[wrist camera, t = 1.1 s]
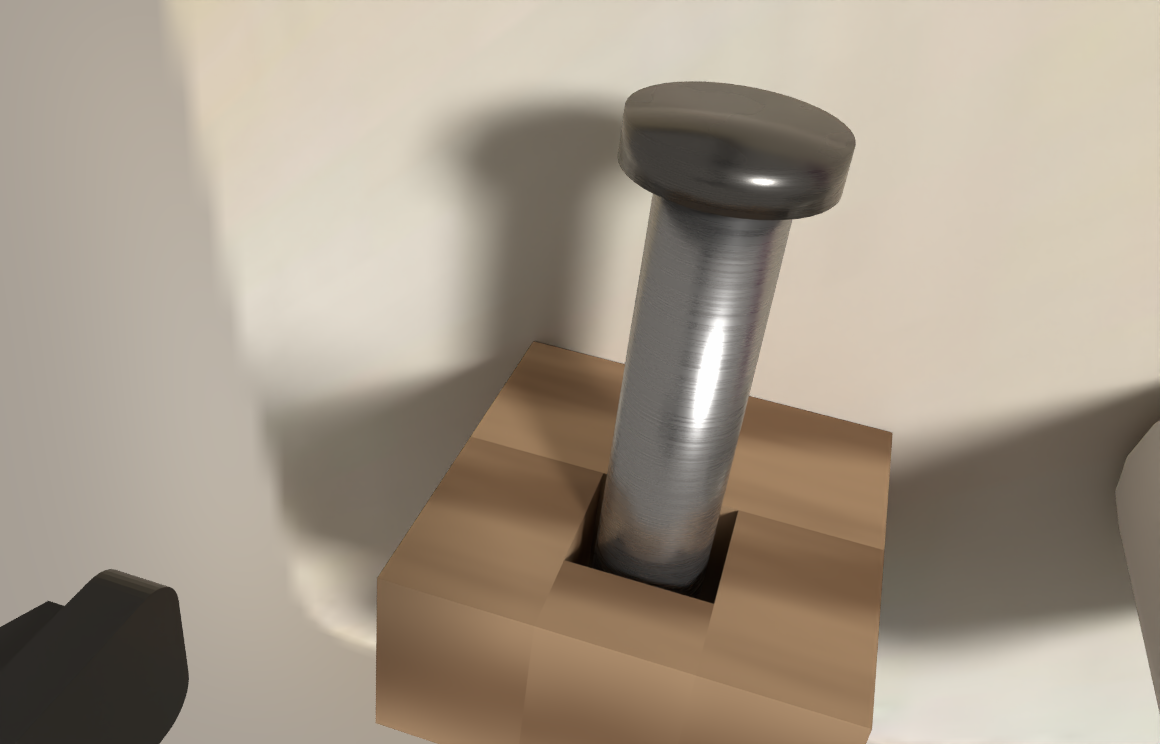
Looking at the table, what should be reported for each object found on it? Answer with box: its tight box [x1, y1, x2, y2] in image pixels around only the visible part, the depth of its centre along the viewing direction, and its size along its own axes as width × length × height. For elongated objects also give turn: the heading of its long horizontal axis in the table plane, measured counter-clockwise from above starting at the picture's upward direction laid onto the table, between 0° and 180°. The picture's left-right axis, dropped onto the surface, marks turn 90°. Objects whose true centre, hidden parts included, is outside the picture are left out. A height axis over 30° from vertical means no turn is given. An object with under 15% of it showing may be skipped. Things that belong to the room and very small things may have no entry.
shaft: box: [592, 82, 855, 599], centre depth 25 cm, size 20×4×4 cm, turn 173°
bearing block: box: [376, 341, 892, 744], centre depth 28 cm, size 5×11×11 cm, turn 83°
